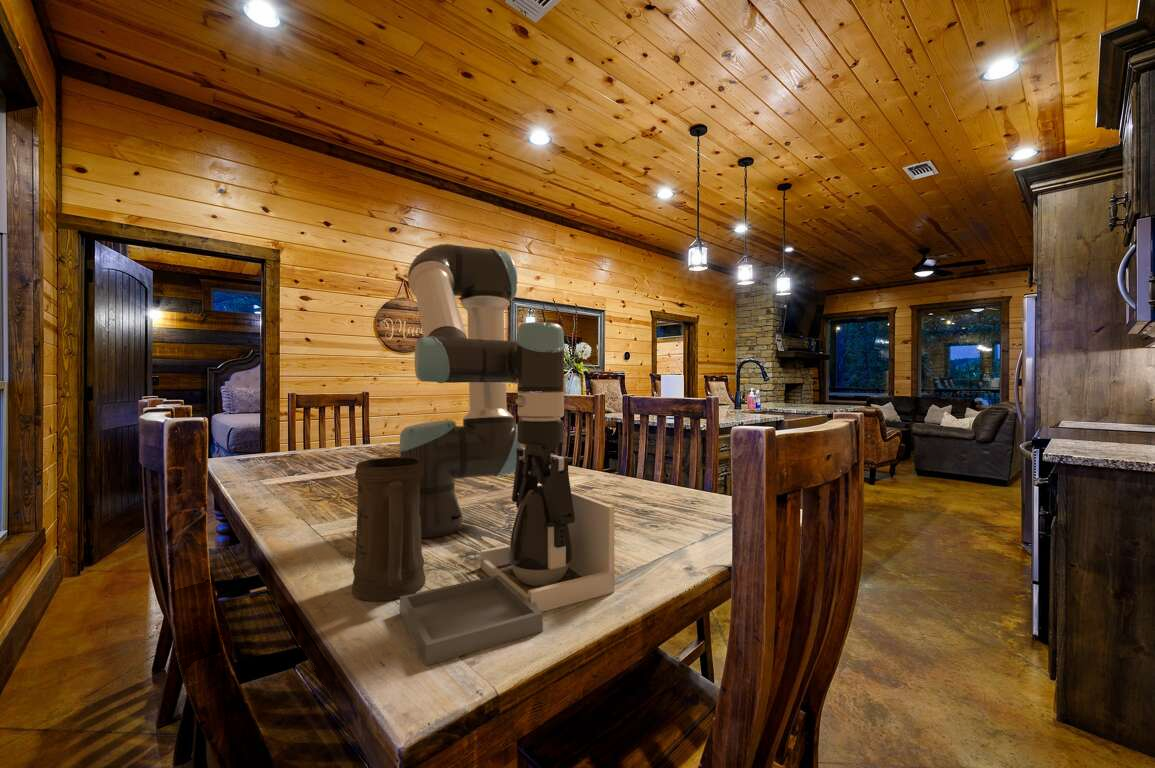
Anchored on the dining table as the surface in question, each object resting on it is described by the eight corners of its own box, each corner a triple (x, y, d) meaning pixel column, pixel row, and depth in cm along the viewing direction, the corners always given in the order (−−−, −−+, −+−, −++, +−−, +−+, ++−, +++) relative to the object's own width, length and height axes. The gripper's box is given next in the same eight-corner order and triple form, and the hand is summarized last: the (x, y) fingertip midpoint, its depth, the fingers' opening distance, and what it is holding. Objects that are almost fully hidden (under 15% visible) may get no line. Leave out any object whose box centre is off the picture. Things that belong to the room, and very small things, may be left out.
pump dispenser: (556, 563, 85) (556, 477, 85) (582, 586, 75) (582, 489, 75) (500, 573, 80) (500, 482, 80) (520, 598, 71) (520, 495, 71)
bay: (480, 567, 83) (480, 492, 83) (551, 553, 90) (552, 483, 90) (531, 614, 66) (531, 519, 66) (614, 592, 73) (614, 506, 73)
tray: (399, 613, 66) (399, 596, 66) (499, 590, 74) (499, 575, 74) (426, 666, 54) (426, 645, 54) (542, 631, 61) (542, 613, 61)
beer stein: (343, 581, 77) (345, 457, 76) (411, 566, 83) (414, 452, 82) (367, 627, 65) (369, 479, 63) (444, 605, 71) (448, 471, 70)
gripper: (492, 415, 86) (492, 541, 85) (553, 424, 66) (553, 586, 66) (531, 414, 90) (530, 534, 89) (599, 422, 70) (599, 575, 70)
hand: (540, 556), depth 78 cm, fingers closed on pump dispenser, 10 cm apart
